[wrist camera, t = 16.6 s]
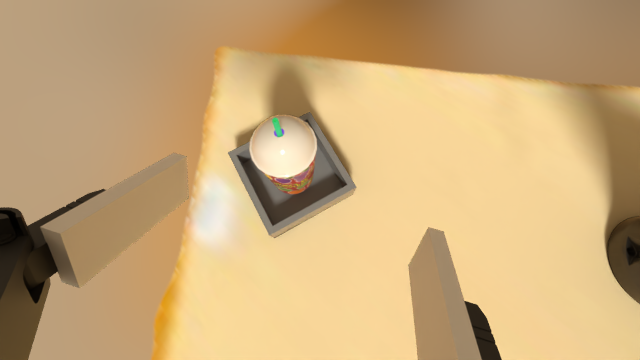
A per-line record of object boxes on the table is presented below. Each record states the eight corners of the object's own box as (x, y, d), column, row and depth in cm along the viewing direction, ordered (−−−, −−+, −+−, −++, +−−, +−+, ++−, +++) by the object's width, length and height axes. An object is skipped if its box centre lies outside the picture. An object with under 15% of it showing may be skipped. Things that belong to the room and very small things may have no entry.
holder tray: (352, 194, 47) (356, 187, 42) (274, 237, 45) (269, 235, 40) (310, 125, 51) (309, 111, 46) (237, 163, 49) (227, 152, 44)
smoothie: (277, 207, 46) (246, 170, 26) (263, 163, 48) (224, 98, 29) (324, 190, 46) (328, 142, 27) (308, 147, 49) (300, 75, 29)
